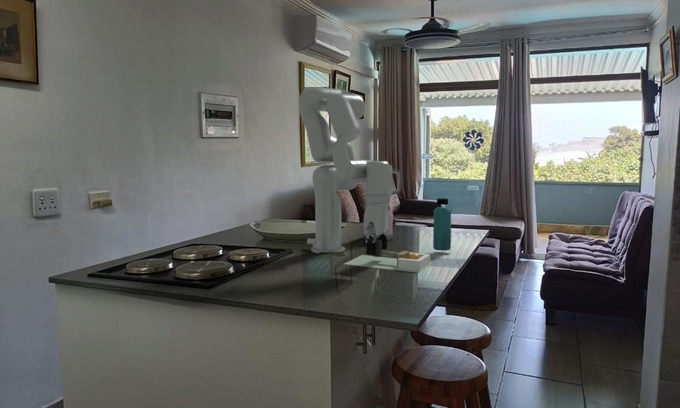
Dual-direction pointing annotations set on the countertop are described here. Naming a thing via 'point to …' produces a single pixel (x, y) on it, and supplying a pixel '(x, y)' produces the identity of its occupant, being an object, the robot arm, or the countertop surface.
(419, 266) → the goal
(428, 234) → the countertop surface
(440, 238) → the beverage bottle
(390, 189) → the blender
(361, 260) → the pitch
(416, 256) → the ball
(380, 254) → the rod
